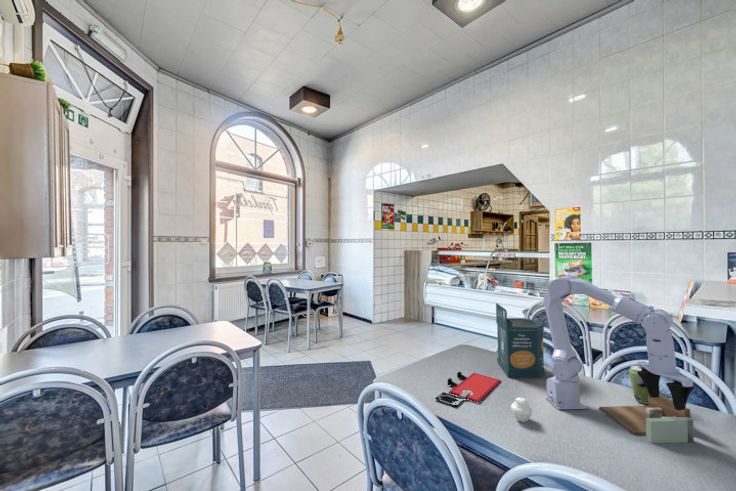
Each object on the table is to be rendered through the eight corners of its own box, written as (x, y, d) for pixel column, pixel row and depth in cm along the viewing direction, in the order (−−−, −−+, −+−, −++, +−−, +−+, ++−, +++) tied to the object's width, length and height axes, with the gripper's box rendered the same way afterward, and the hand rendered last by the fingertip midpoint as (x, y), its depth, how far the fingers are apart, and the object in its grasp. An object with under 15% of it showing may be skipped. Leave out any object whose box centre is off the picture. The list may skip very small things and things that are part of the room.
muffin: (524, 427, 96) (523, 404, 96) (506, 417, 101) (506, 396, 101) (537, 421, 99) (536, 399, 99) (519, 412, 104) (519, 391, 104)
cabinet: (634, 434, 91) (633, 410, 91) (599, 409, 105) (598, 388, 105) (690, 433, 91) (689, 409, 91) (647, 408, 105) (647, 387, 105)
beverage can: (662, 407, 105) (661, 371, 105) (636, 405, 106) (636, 370, 106) (649, 398, 111) (648, 364, 111) (625, 396, 113) (624, 363, 112)
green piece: (651, 443, 87) (651, 421, 87) (645, 439, 89) (645, 417, 89) (695, 442, 87) (695, 420, 87) (688, 438, 89) (688, 416, 89)
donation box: (497, 362, 147) (495, 302, 147) (534, 363, 145) (532, 302, 145) (507, 377, 131) (506, 310, 131) (549, 378, 129) (547, 310, 129)
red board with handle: (429, 399, 115) (469, 414, 105) (429, 391, 115) (469, 405, 105) (465, 373, 137) (500, 383, 127) (465, 367, 137) (500, 376, 127)
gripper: (702, 360, 82) (708, 414, 81) (652, 345, 96) (657, 391, 96) (674, 362, 82) (681, 416, 81) (629, 347, 96) (634, 392, 96)
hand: (666, 403), depth 88 cm, fingers open, 7 cm apart
